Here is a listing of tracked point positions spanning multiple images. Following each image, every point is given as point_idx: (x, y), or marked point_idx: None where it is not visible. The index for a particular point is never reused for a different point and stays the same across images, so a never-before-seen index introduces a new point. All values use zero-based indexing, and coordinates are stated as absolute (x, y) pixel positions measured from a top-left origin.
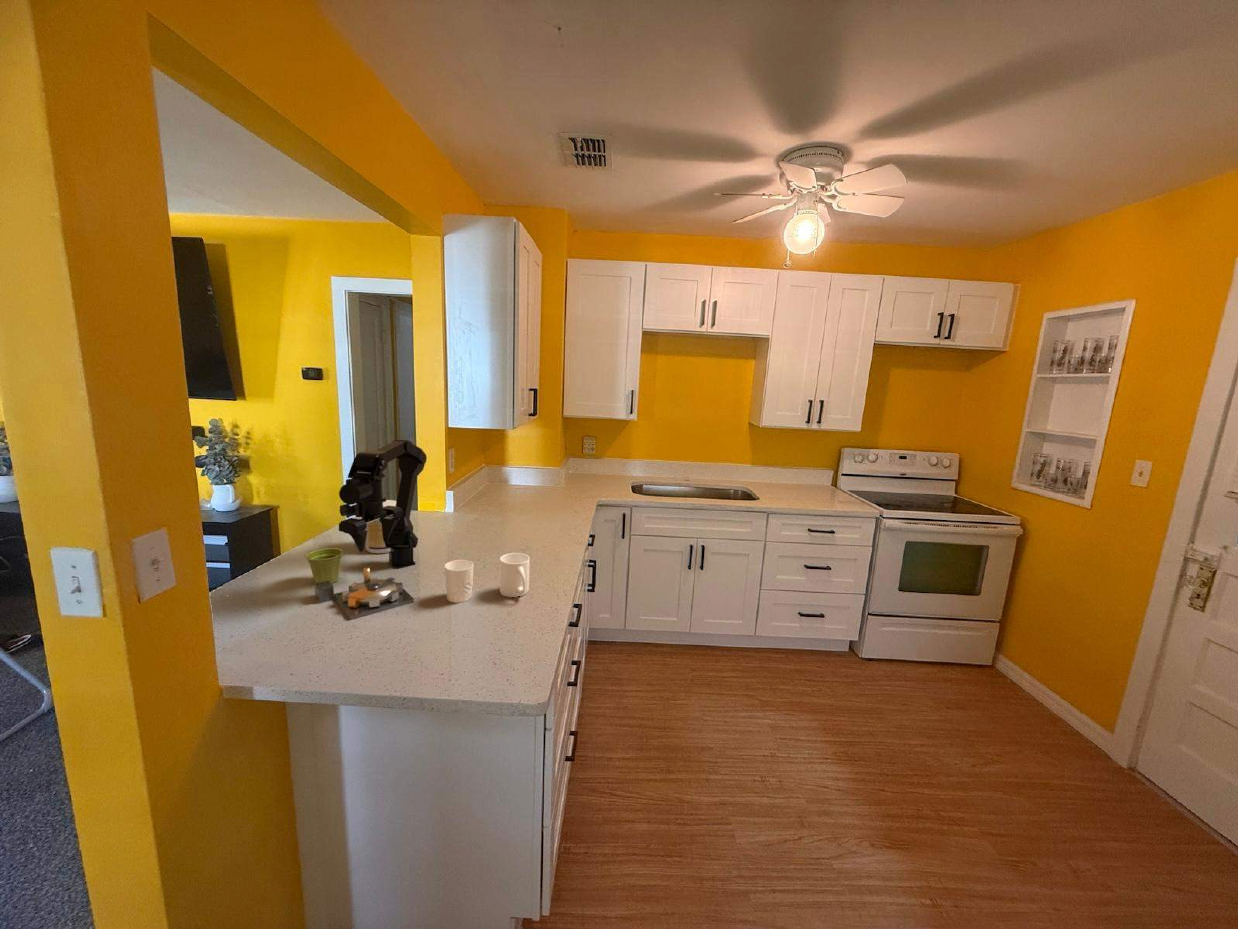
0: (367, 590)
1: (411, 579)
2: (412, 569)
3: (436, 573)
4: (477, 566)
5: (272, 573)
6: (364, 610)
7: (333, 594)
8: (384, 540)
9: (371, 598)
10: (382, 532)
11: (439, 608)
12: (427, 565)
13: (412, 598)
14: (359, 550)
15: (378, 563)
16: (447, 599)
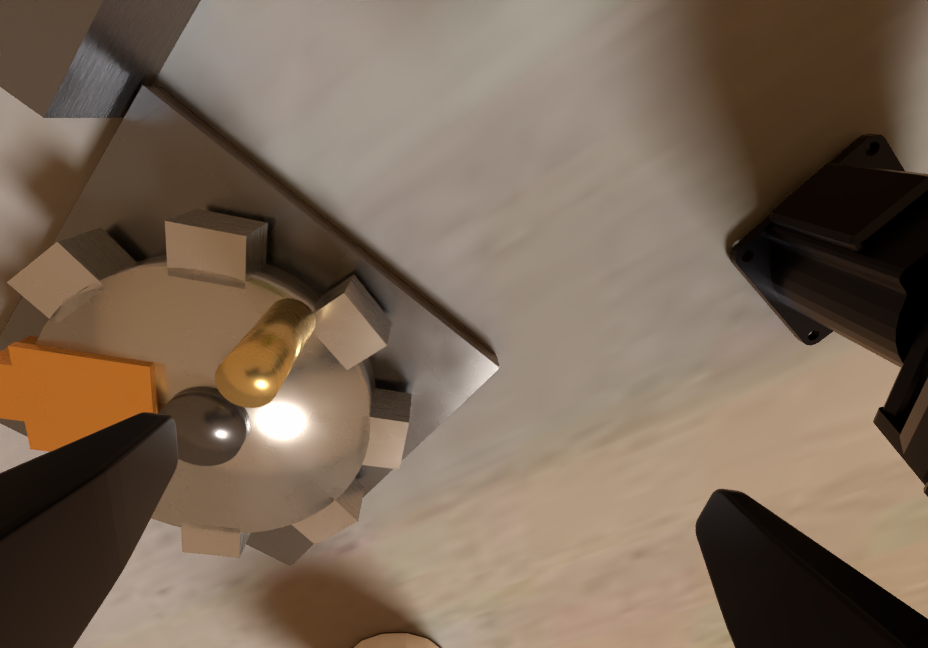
0: None
1: (556, 423)
2: (715, 359)
3: (649, 499)
4: None
5: None
6: None
7: (97, 116)
8: (717, 515)
9: None
10: (876, 640)
11: (280, 643)
12: (777, 411)
13: (290, 560)
14: (121, 433)
15: (874, 32)
16: (360, 643)
